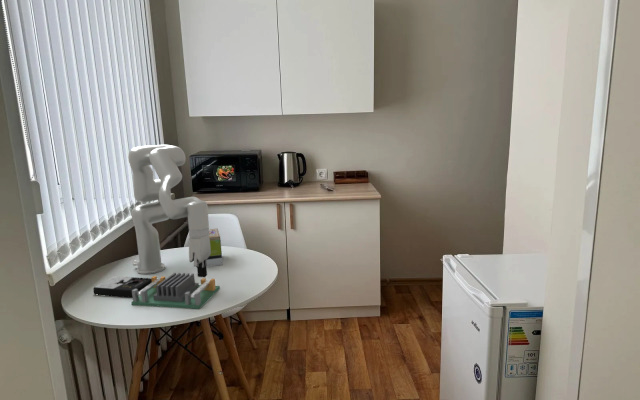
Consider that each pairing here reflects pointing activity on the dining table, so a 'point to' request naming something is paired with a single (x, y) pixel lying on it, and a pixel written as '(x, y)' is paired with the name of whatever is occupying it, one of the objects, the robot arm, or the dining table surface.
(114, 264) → the dining table surface
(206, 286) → the strap right
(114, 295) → the multimeter
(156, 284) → the strap left
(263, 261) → the dining table surface
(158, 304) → the cooler board
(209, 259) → the tea box
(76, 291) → the dining table surface
